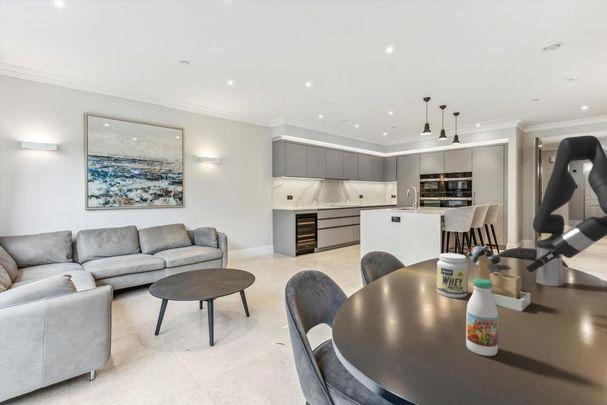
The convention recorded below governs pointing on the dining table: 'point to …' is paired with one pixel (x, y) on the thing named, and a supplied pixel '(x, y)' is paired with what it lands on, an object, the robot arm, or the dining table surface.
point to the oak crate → (505, 285)
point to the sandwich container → (486, 268)
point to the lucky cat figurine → (481, 251)
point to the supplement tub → (452, 275)
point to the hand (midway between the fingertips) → (531, 268)
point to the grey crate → (512, 301)
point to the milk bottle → (482, 320)
